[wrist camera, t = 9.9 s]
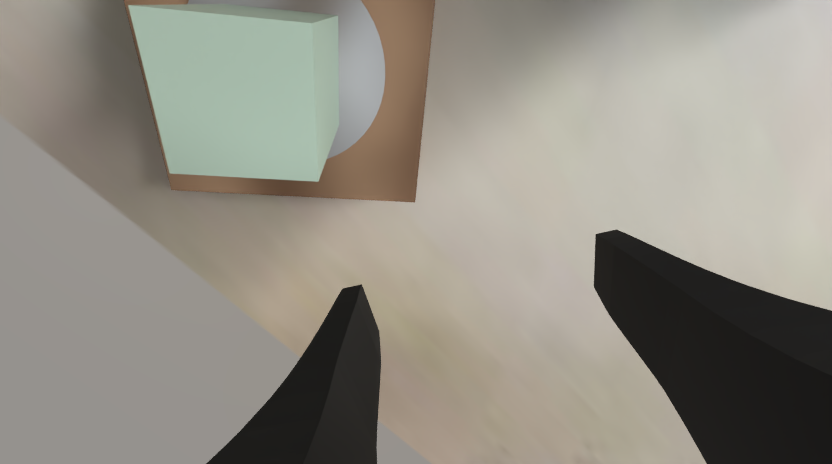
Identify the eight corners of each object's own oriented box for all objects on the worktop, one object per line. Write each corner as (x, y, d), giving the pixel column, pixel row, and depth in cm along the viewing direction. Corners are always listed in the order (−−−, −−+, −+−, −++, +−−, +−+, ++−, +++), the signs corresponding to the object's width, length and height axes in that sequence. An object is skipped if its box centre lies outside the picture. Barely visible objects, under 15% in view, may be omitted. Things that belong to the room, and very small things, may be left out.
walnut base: (435, -79, 15) (445, -94, 13) (411, 181, 21) (415, 203, 18) (134, -118, 14) (84, -142, 12) (194, 169, 19) (169, 191, 17)
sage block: (338, 15, 14) (312, 23, 9) (339, 124, 16) (318, 181, 11) (224, 4, 14) (127, 5, 9) (239, 117, 16) (169, 173, 11)
